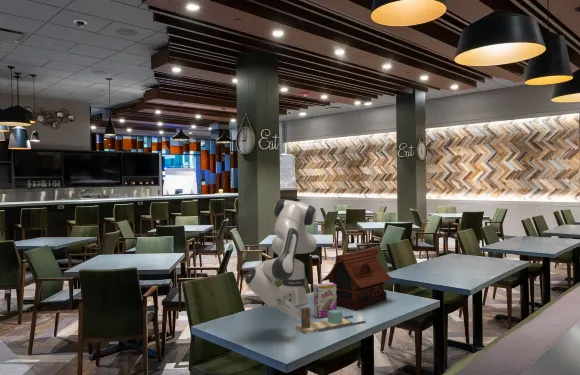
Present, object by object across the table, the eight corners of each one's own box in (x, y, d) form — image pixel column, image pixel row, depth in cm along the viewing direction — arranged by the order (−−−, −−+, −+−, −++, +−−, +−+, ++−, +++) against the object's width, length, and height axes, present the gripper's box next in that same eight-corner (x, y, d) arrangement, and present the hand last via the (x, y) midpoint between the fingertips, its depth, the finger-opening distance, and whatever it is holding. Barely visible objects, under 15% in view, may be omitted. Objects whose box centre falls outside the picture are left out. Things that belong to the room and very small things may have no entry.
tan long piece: (304, 333, 205) (304, 311, 205) (295, 328, 213) (295, 306, 213) (352, 324, 217) (352, 303, 217) (342, 319, 225) (341, 299, 225)
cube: (333, 324, 214) (333, 313, 214) (327, 321, 219) (327, 311, 219) (342, 322, 216) (341, 312, 216) (336, 319, 221) (336, 309, 221)
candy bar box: (317, 318, 227) (317, 286, 227) (313, 316, 232) (312, 284, 232) (337, 316, 231) (336, 284, 231) (333, 313, 236) (332, 282, 236)
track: (319, 331, 207) (319, 330, 207) (307, 325, 217) (307, 323, 217) (365, 322, 219) (365, 321, 219) (352, 317, 229) (352, 315, 229)
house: (360, 313, 235) (359, 257, 235) (319, 304, 255) (318, 252, 255) (397, 300, 260) (396, 250, 259) (357, 292, 280) (356, 246, 280)
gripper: (288, 296, 194) (308, 315, 199) (268, 287, 212) (287, 305, 217) (279, 308, 192) (300, 327, 197) (260, 298, 210) (279, 316, 215)
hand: (293, 315), depth 207 cm, fingers open, 8 cm apart
